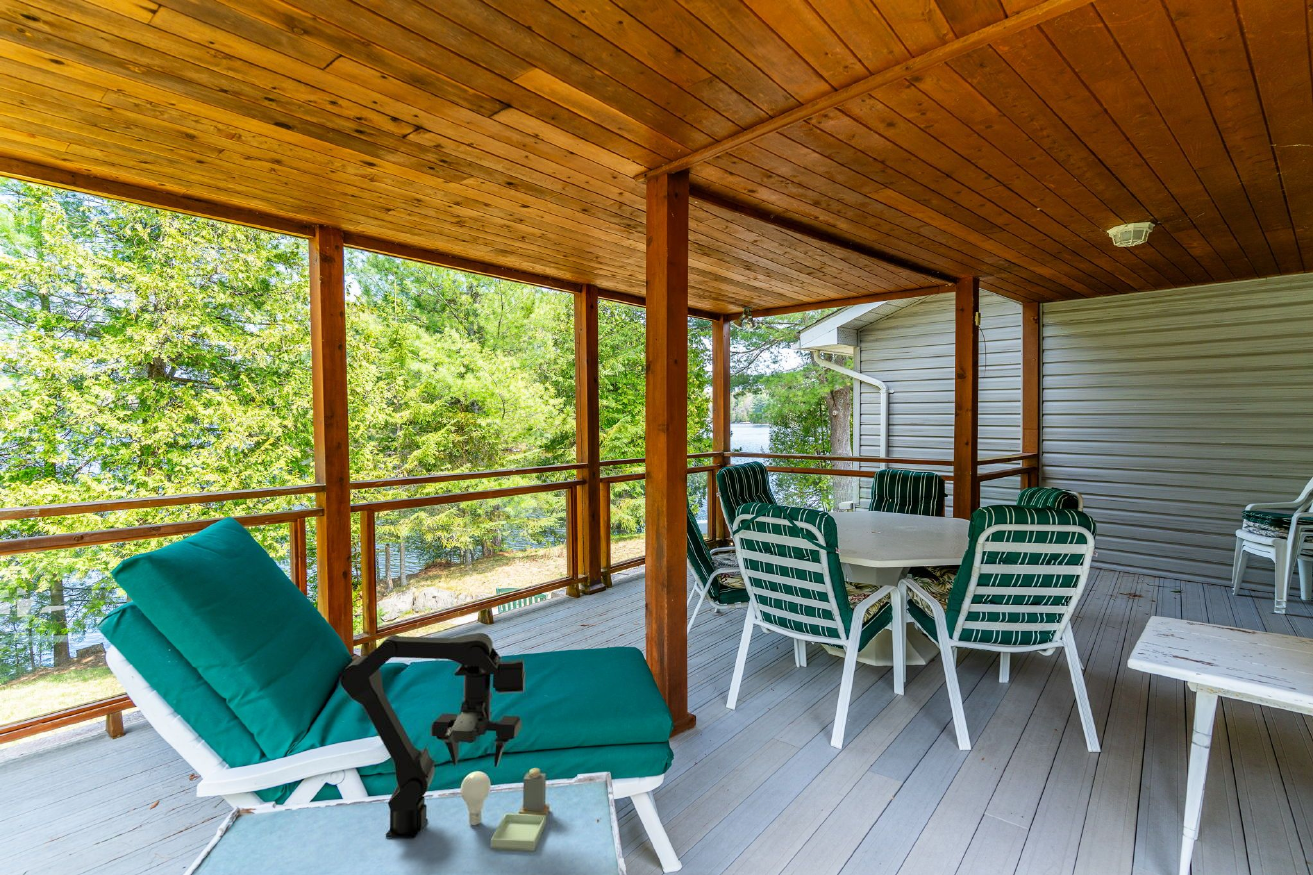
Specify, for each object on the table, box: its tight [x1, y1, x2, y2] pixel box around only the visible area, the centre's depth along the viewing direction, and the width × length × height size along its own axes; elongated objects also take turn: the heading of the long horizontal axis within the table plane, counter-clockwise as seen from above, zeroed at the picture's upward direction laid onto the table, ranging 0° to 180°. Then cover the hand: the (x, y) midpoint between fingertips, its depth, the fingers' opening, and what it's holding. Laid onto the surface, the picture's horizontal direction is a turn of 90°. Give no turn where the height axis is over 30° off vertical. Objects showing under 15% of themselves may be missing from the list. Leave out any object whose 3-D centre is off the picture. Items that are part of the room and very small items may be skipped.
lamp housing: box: [518, 767, 550, 818], centre depth 136 cm, size 6×4×10 cm, turn 86°
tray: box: [490, 813, 547, 852], centre depth 127 cm, size 9×9×2 cm
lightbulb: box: [460, 770, 492, 826], centre depth 132 cm, size 6×6×11 cm
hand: (475, 765), depth 132 cm, fingers open, 9 cm apart
